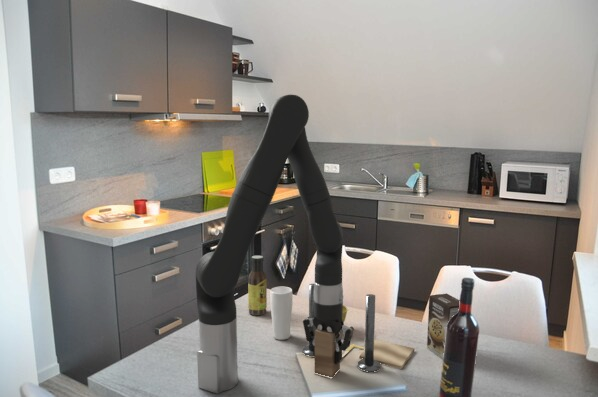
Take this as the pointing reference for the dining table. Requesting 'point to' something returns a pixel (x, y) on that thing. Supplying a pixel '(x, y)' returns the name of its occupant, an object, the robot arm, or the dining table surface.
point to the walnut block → (325, 353)
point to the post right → (369, 337)
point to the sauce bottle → (257, 287)
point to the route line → (355, 347)
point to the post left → (309, 348)
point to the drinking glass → (281, 311)
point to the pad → (390, 353)
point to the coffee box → (440, 320)
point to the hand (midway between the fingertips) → (327, 360)
